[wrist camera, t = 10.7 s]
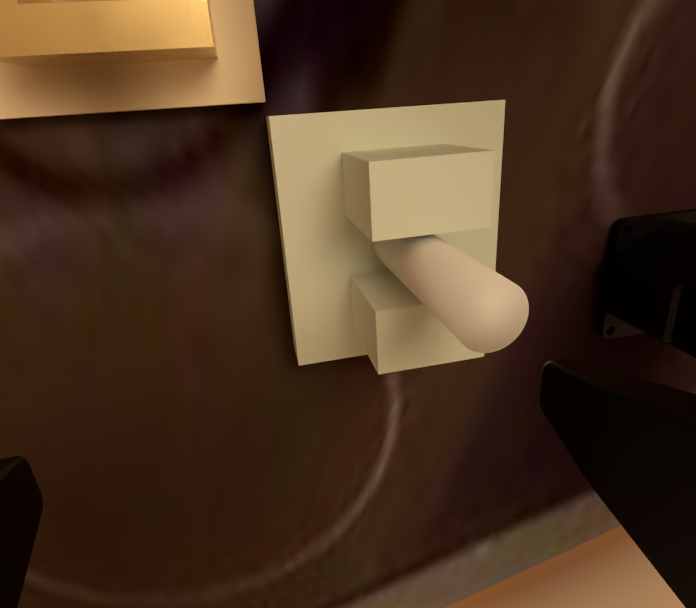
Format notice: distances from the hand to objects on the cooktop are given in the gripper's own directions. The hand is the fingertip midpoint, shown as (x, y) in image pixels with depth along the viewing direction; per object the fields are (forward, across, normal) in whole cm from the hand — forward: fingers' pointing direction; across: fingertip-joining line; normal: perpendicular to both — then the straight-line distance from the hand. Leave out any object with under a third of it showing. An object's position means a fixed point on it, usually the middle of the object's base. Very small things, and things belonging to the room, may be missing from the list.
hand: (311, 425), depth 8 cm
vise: (+13, -5, 0) cm, 14 cm away
